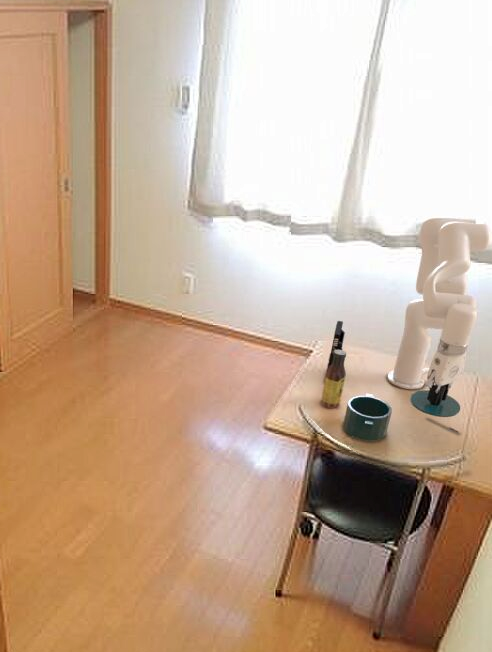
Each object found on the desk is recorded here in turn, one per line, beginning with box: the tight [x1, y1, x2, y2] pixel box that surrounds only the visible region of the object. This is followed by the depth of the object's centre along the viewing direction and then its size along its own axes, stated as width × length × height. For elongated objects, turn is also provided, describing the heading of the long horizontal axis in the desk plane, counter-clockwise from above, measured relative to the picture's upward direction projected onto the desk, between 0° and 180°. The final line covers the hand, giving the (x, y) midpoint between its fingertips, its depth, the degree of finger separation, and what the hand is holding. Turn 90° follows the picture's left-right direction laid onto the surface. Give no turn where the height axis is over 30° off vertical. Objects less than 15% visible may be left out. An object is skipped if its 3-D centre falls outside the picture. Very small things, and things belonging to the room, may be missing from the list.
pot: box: [342, 393, 393, 442], centre depth 208 cm, size 13×19×9 cm
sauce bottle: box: [321, 349, 347, 409], centre depth 218 cm, size 7×6×20 cm
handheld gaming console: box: [325, 320, 346, 376], centre depth 234 cm, size 12×5×20 cm, turn 160°
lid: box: [409, 383, 461, 418], centre depth 196 cm, size 14×14×7 cm
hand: (436, 399), depth 197 cm, fingers closed on lid, 3 cm apart
